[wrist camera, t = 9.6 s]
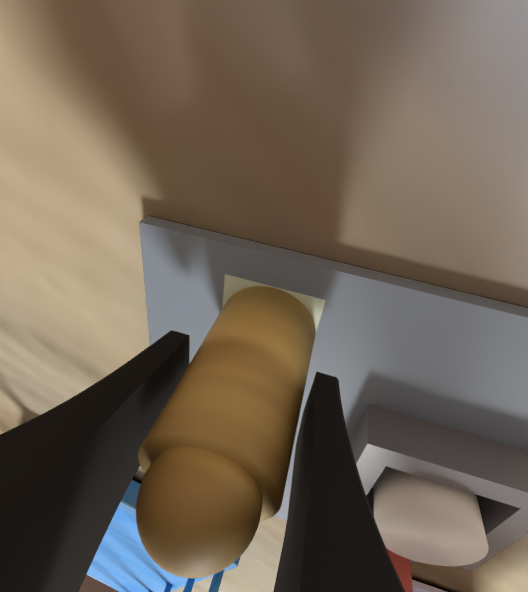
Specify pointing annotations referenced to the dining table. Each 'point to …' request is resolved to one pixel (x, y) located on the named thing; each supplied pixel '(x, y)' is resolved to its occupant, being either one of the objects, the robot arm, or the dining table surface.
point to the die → (402, 570)
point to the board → (355, 330)
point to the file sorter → (136, 556)
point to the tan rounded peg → (226, 435)
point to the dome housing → (448, 468)
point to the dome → (428, 520)
